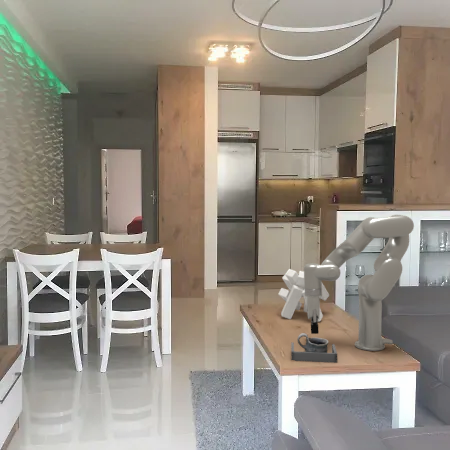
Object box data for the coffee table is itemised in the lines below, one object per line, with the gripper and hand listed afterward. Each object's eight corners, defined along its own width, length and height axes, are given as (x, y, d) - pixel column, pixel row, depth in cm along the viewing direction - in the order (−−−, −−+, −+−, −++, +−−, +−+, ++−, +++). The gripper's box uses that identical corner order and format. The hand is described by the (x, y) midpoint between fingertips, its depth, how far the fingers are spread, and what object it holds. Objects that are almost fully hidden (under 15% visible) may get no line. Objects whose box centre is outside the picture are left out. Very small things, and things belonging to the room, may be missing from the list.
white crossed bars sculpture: (276, 316, 290) (258, 267, 277) (322, 296, 292) (306, 246, 278) (296, 349, 258) (276, 296, 244) (347, 327, 260) (331, 272, 246)
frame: (334, 352, 207) (334, 344, 207) (337, 362, 194) (337, 354, 194) (291, 350, 209) (291, 342, 209) (291, 360, 196) (291, 352, 196)
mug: (332, 360, 197) (332, 335, 196) (302, 362, 194) (302, 337, 194) (322, 352, 206) (322, 329, 206) (294, 354, 204) (294, 331, 203)
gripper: (304, 288, 222) (305, 328, 223) (305, 295, 207) (306, 338, 208) (320, 288, 221) (322, 328, 222) (323, 295, 206) (324, 338, 207)
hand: (314, 333), depth 215 cm, fingers closed
